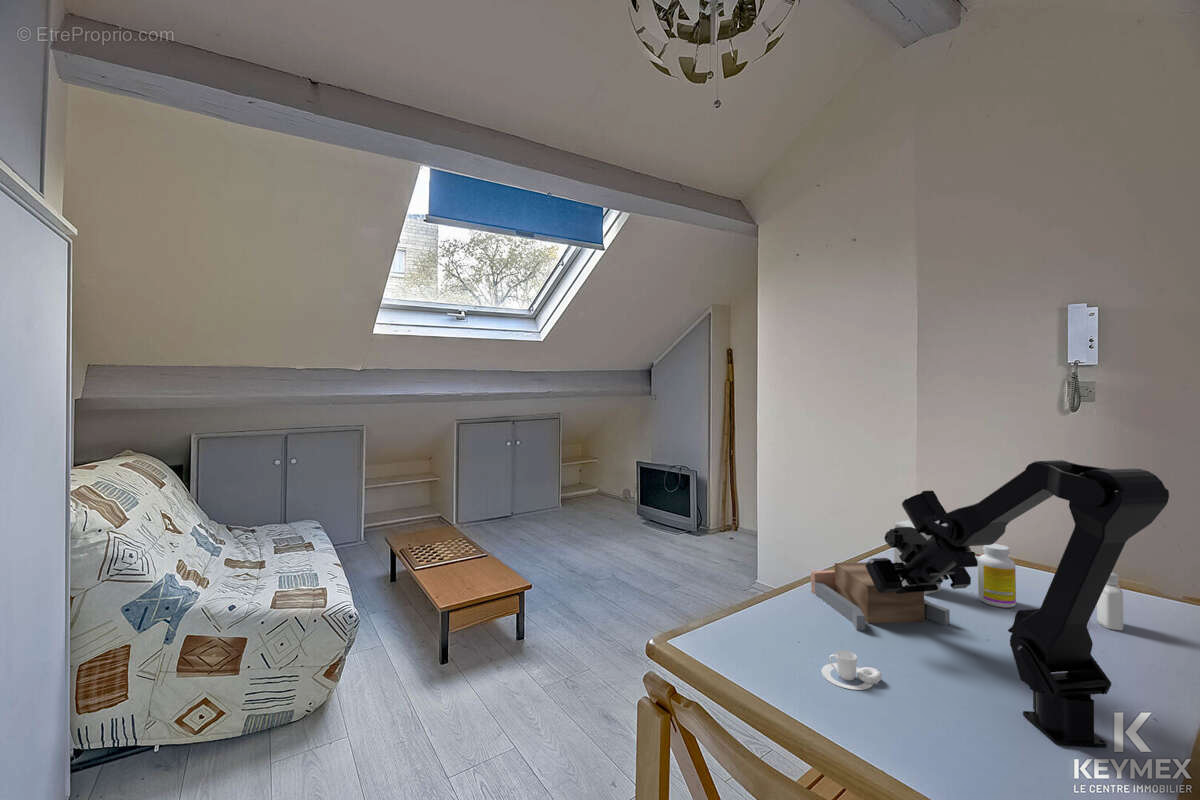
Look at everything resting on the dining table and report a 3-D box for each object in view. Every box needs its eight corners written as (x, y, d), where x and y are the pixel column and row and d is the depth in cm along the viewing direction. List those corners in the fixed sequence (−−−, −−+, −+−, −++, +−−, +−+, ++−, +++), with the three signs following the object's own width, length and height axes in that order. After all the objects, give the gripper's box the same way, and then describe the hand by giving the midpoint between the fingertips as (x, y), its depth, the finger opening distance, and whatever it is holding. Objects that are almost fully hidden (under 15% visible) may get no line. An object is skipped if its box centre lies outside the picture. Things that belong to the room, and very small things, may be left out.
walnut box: (924, 622, 104) (924, 584, 104) (867, 623, 104) (867, 585, 104) (884, 595, 118) (884, 562, 118) (835, 596, 118) (834, 563, 118)
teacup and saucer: (885, 680, 84) (885, 656, 84) (869, 701, 78) (869, 675, 78) (832, 661, 90) (831, 638, 90) (814, 679, 85) (813, 655, 85)
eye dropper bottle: (1090, 624, 102) (1090, 566, 102) (1099, 617, 105) (1099, 561, 104) (1120, 633, 98) (1120, 572, 98) (1129, 625, 101) (1129, 567, 101)
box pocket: (951, 625, 102) (951, 600, 102) (858, 631, 100) (858, 606, 100) (885, 587, 123) (885, 567, 122) (806, 592, 120) (806, 571, 120)
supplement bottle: (1023, 609, 109) (1022, 551, 109) (988, 607, 110) (988, 550, 110) (1004, 597, 115) (1004, 542, 115) (972, 595, 117) (972, 541, 117)
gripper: (958, 515, 99) (918, 553, 110) (870, 519, 97) (838, 557, 108) (994, 568, 91) (946, 603, 102) (899, 574, 89) (861, 608, 101)
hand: (897, 591), depth 104 cm, fingers closed
